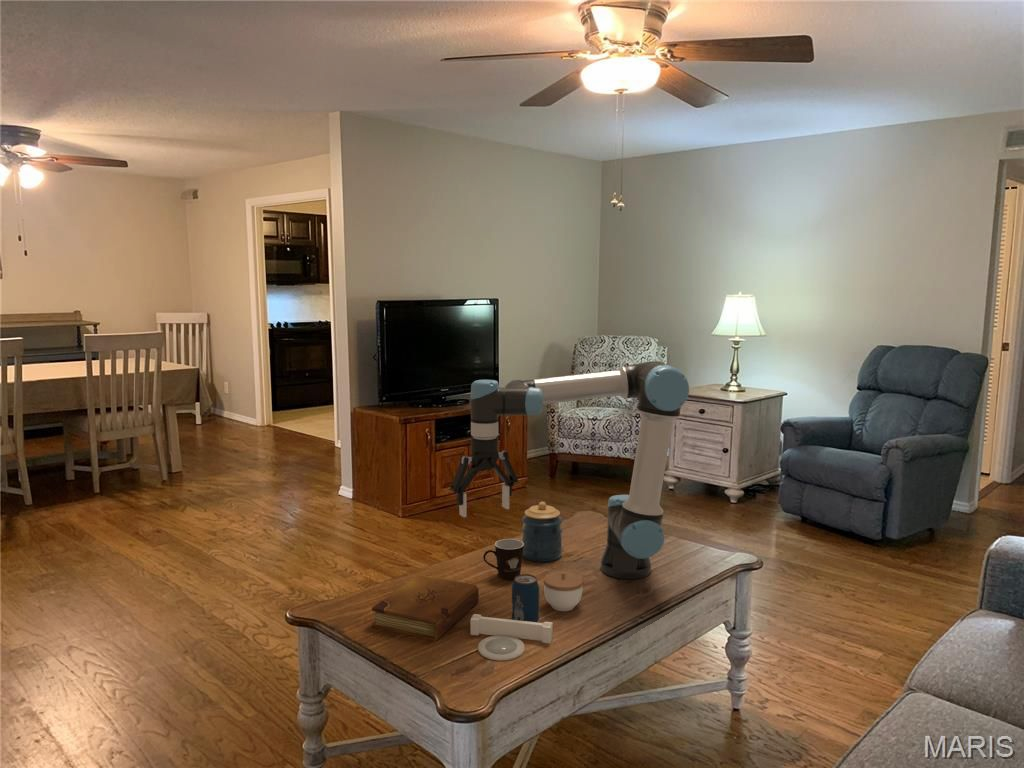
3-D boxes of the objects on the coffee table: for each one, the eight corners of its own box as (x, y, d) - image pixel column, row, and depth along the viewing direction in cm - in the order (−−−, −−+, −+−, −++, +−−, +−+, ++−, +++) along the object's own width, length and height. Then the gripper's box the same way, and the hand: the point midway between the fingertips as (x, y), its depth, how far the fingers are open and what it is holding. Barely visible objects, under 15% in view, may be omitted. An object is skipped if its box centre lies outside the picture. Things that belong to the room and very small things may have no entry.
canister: (515, 559, 226) (515, 505, 224) (530, 545, 238) (530, 494, 236) (554, 565, 222) (554, 510, 219) (567, 551, 233) (568, 498, 231)
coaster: (528, 640, 175) (528, 637, 175) (519, 663, 164) (519, 660, 164) (484, 635, 177) (484, 632, 177) (472, 657, 167) (472, 654, 166)
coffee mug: (524, 571, 217) (525, 539, 216) (522, 582, 208) (522, 549, 207) (486, 569, 218) (486, 537, 217) (482, 581, 210) (482, 548, 208)
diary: (437, 644, 174) (436, 621, 173) (372, 629, 181) (371, 607, 181) (478, 604, 195) (478, 584, 194) (419, 592, 202) (418, 573, 202)
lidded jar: (556, 618, 186) (556, 584, 185) (535, 602, 196) (536, 569, 194) (590, 610, 191) (591, 576, 190) (569, 594, 201) (569, 562, 199)
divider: (552, 637, 176) (552, 622, 176) (550, 643, 173) (550, 628, 173) (473, 629, 180) (473, 614, 180) (470, 634, 177) (470, 619, 177)
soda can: (537, 617, 187) (538, 573, 185) (539, 629, 180) (540, 584, 179) (511, 617, 187) (511, 573, 185) (512, 629, 180) (512, 584, 178)
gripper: (516, 429, 205) (515, 501, 208) (437, 439, 192) (438, 515, 195) (530, 434, 199) (529, 508, 202) (450, 444, 186) (450, 523, 189)
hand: (484, 511), depth 199 cm, fingers open, 13 cm apart
